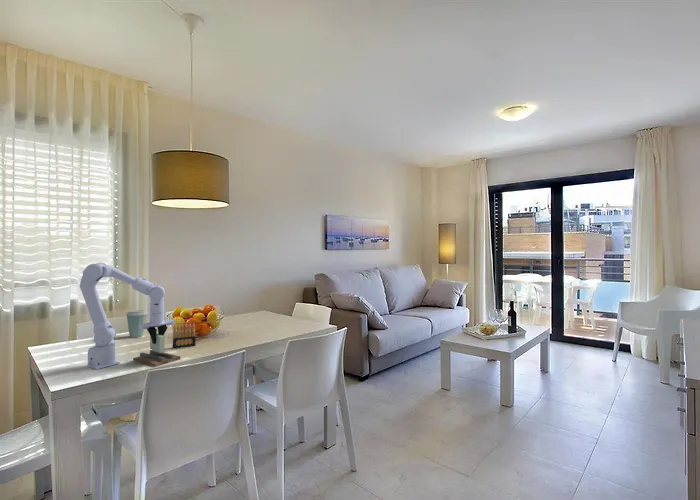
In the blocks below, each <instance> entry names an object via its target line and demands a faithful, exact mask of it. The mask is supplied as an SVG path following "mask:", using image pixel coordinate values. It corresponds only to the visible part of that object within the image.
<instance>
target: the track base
mask: <svg viewBox="0 0 700 500" xmlns="http://www.w3.org/2000/svg"><path fill="white" fill-rule="evenodd" d="M132 360H133V362H136V363H139V364H143V365H147V366H151V367H154V368H155V367H160V366H162V365H166V364H170V363H172V362H176V361H178V360H181V356H180V355H177V354H173V353H169V352H165V351H164V352H162V353H159V352H157V351H154V350H152V349H150V350H149V353H146V352H139V356H136V357H133V358H132Z"/></svg>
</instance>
